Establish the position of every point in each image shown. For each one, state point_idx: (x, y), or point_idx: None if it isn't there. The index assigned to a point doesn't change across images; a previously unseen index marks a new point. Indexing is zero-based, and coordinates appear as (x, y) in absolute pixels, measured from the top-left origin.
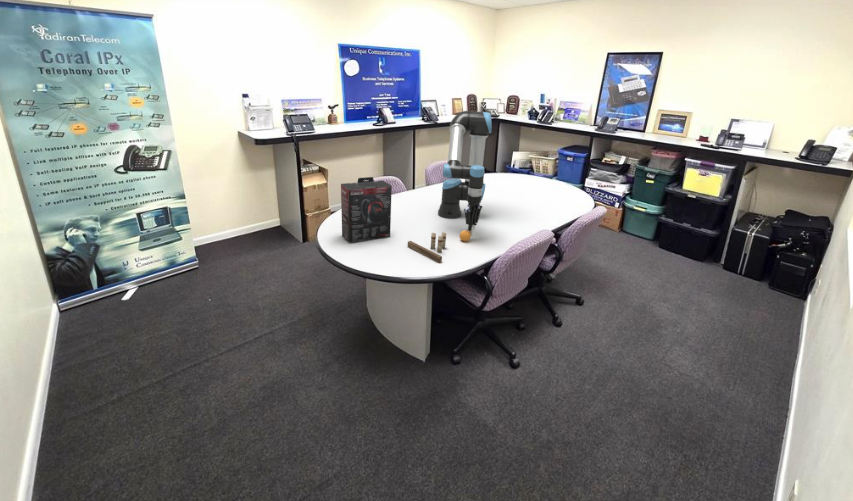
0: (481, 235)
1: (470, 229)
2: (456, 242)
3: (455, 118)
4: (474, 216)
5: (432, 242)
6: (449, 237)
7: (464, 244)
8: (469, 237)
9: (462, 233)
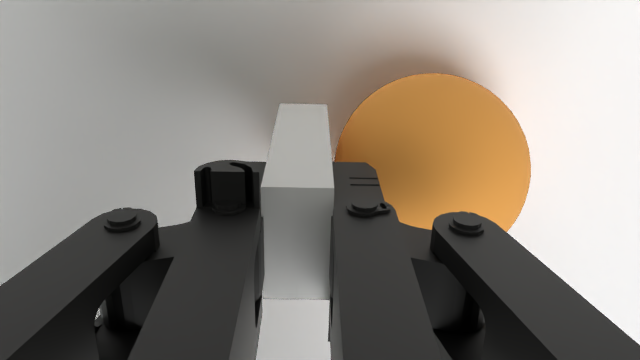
0: (21, 119)
1: (360, 175)
2: (551, 171)
3: None
4: None
5: None
6: None
7: (533, 49)
8: (429, 75)
9: (520, 201)
